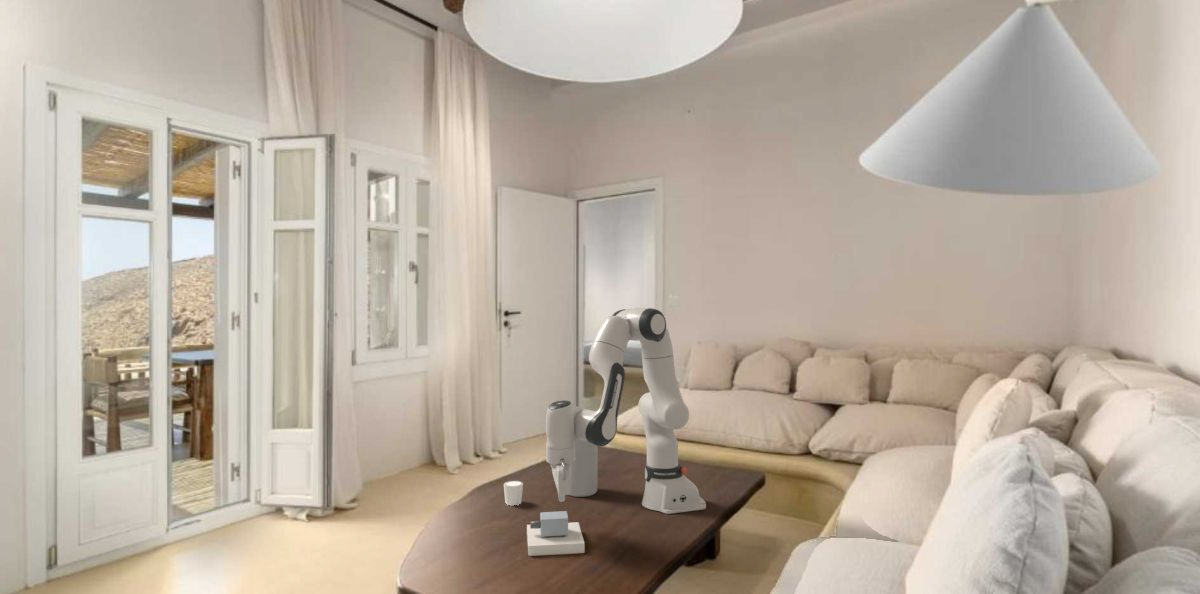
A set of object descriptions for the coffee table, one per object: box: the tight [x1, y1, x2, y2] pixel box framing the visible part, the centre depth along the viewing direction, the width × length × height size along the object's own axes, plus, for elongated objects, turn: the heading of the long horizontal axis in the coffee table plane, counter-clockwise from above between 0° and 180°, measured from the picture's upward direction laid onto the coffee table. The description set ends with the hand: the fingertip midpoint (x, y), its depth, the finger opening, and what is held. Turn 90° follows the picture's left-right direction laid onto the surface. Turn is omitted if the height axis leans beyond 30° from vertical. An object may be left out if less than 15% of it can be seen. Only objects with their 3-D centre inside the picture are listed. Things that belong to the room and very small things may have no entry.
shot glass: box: [503, 480, 524, 507], centre depth 214 cm, size 7×7×7 cm
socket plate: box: [526, 521, 586, 557], centre depth 180 cm, size 16×16×4 cm
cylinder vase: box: [568, 439, 599, 498], centre depth 227 cm, size 12×12×25 cm
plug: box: [529, 510, 569, 538], centre depth 180 cm, size 11×6×8 cm, turn 97°
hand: (561, 500), depth 185 cm, fingers closed
